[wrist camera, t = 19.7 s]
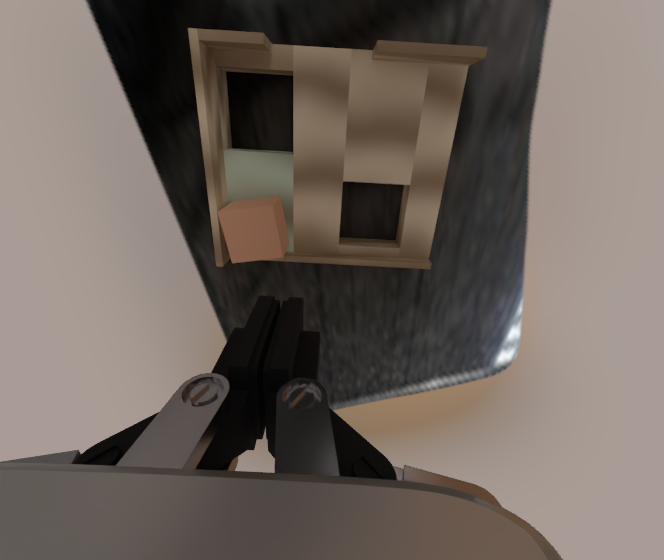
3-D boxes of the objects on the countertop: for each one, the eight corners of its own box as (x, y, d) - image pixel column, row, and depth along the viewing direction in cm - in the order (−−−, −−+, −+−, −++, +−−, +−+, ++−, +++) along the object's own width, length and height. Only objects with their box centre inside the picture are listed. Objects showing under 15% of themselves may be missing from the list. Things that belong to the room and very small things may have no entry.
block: (232, 201, 28) (217, 211, 25) (280, 195, 28) (272, 205, 25) (244, 247, 30) (232, 263, 27) (289, 242, 30) (283, 257, 26)
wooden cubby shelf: (216, 47, 25) (187, 28, 20) (458, 62, 26) (487, 47, 21) (234, 245, 33) (216, 266, 28) (421, 256, 33) (436, 278, 28)
